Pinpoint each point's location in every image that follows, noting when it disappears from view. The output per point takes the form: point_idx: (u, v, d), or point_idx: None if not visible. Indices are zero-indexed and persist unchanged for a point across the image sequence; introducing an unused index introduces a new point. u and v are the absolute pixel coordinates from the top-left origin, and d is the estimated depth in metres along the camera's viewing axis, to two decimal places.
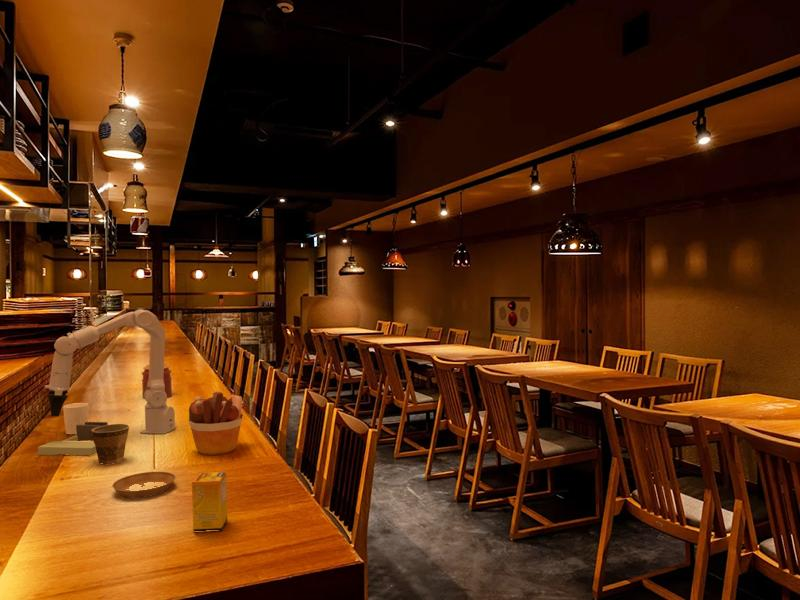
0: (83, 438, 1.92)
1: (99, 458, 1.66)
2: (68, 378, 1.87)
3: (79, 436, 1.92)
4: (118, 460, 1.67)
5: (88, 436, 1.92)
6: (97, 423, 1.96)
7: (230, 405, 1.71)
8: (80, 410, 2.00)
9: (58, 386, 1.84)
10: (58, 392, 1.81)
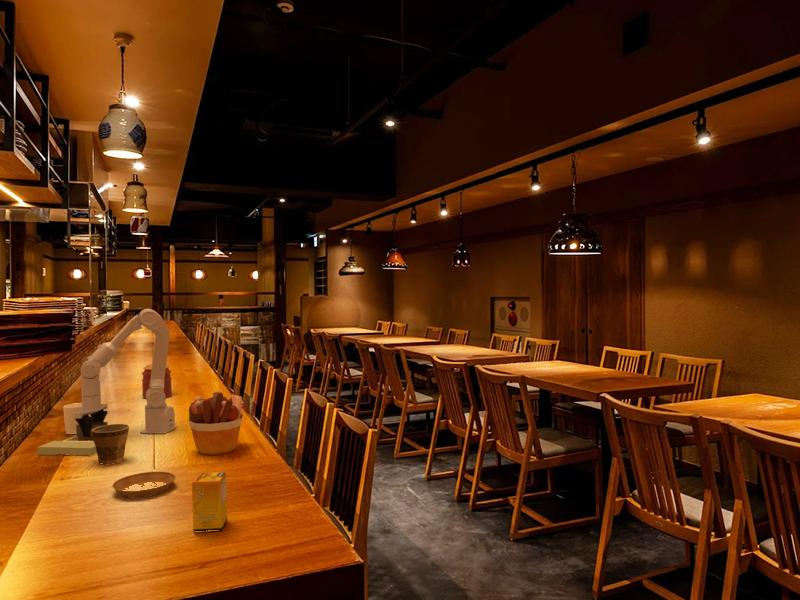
0: (83, 438, 1.92)
1: (99, 458, 1.66)
2: (94, 400, 1.92)
3: (79, 436, 1.92)
4: (118, 460, 1.67)
5: None
6: (97, 423, 1.96)
7: (230, 405, 1.71)
8: None
9: (85, 408, 1.91)
10: (77, 415, 1.87)
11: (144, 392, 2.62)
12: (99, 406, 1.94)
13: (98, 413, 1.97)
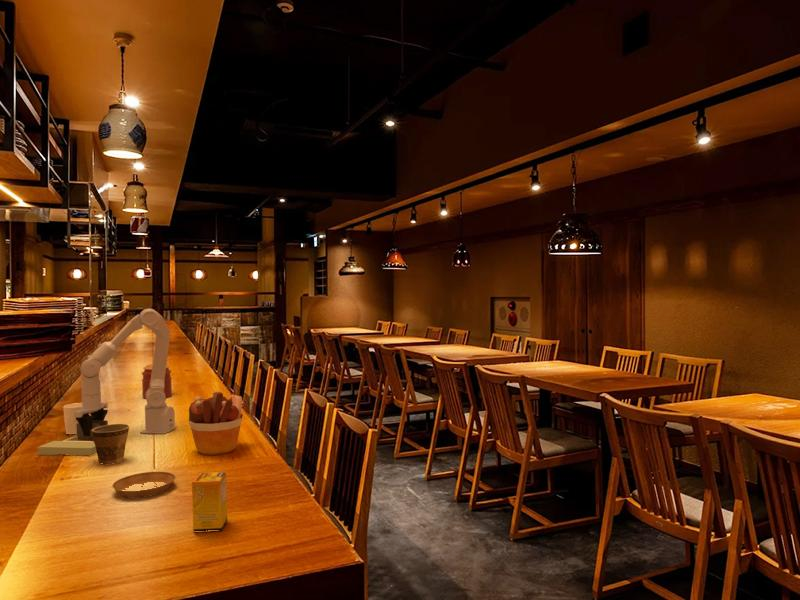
0: (83, 436, 1.92)
1: (99, 458, 1.66)
2: (94, 399, 1.92)
3: (79, 434, 1.92)
4: (118, 460, 1.67)
5: None
6: (97, 421, 1.96)
7: (230, 405, 1.71)
8: None
9: (85, 407, 1.91)
10: (77, 414, 1.87)
11: (144, 392, 2.62)
12: (99, 405, 1.94)
13: (98, 412, 1.97)
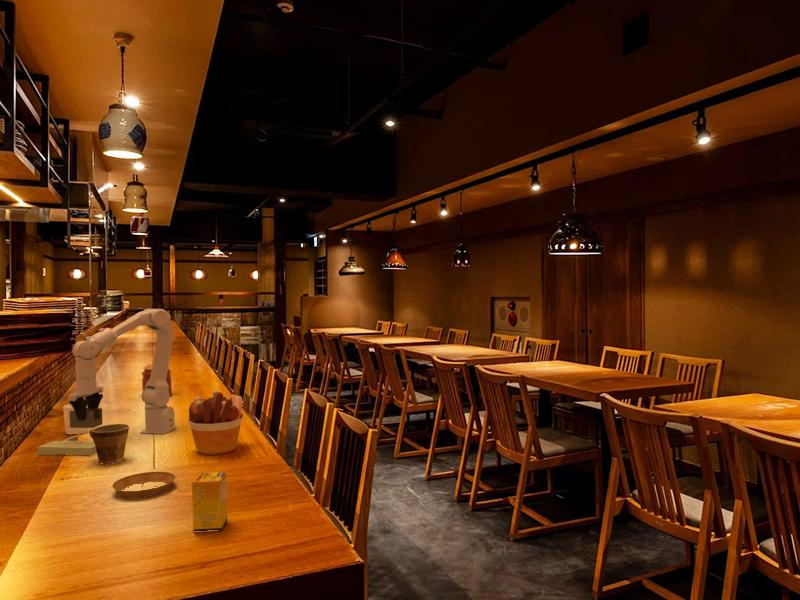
0: (76, 424, 1.84)
1: (99, 458, 1.66)
2: (89, 382, 1.84)
3: (72, 422, 1.84)
4: (118, 460, 1.67)
5: (82, 422, 1.84)
6: (91, 409, 1.88)
7: (230, 405, 1.71)
8: None
9: (79, 391, 1.83)
10: (71, 398, 1.79)
11: None
12: (94, 389, 1.86)
13: (93, 396, 1.89)
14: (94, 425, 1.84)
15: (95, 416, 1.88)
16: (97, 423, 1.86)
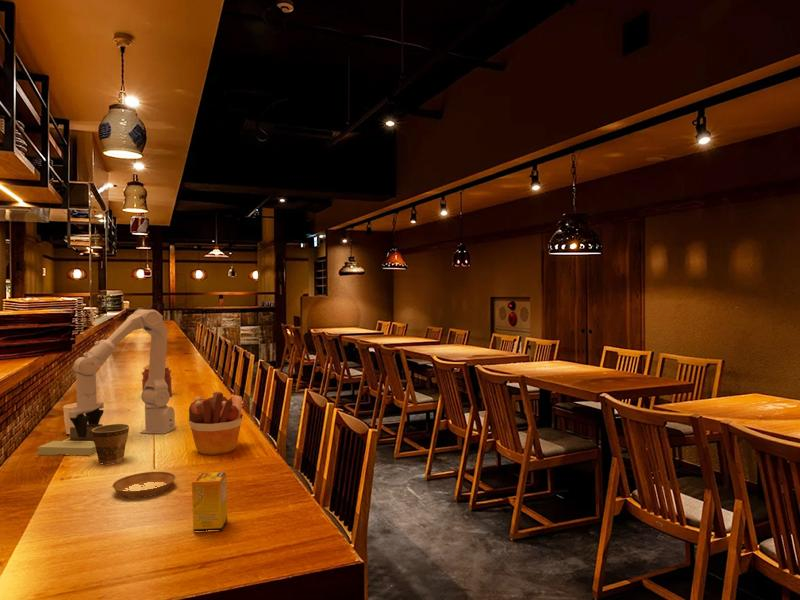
0: None
1: (99, 458, 1.66)
2: (89, 399, 1.84)
3: (73, 439, 1.84)
4: (118, 460, 1.67)
5: (82, 438, 1.84)
6: (92, 425, 1.88)
7: (230, 405, 1.71)
8: None
9: (80, 407, 1.83)
10: (71, 415, 1.79)
11: None
12: (95, 405, 1.86)
13: (94, 412, 1.88)
14: None
15: None
16: None
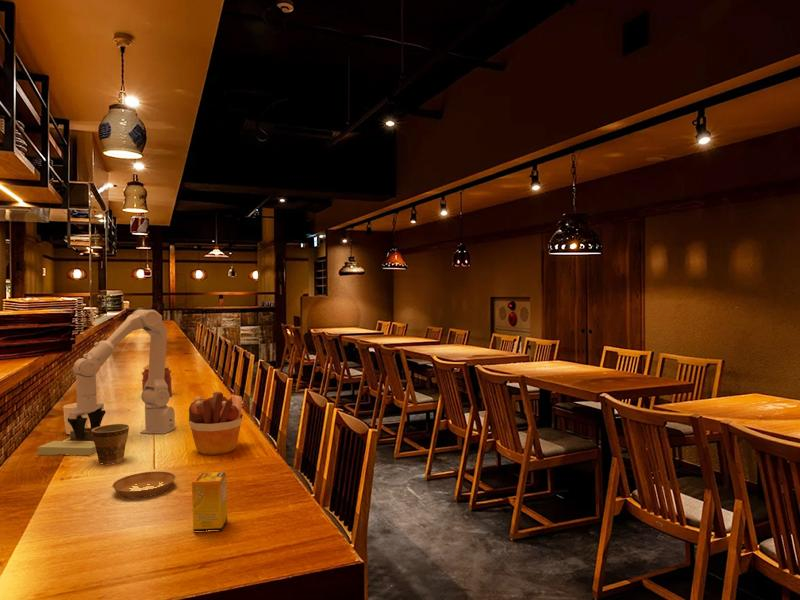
0: None
1: (99, 458, 1.66)
2: (89, 400, 1.84)
3: None
4: (118, 460, 1.67)
5: None
6: None
7: (230, 405, 1.71)
8: None
9: (80, 409, 1.83)
10: (71, 416, 1.79)
11: None
12: (95, 406, 1.86)
13: (96, 413, 1.90)
14: None
15: None
16: None
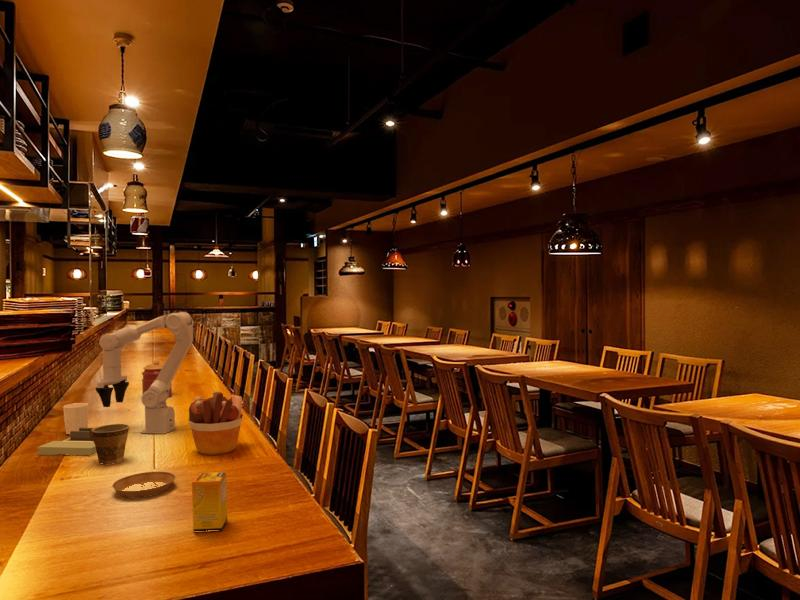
0: None
1: (99, 458, 1.66)
2: (115, 371, 2.01)
3: None
4: (118, 460, 1.67)
5: None
6: None
7: (230, 405, 1.71)
8: (79, 410, 2.00)
9: (106, 379, 2.00)
10: (99, 385, 1.96)
11: None
12: (120, 377, 2.03)
13: (120, 384, 2.06)
14: None
15: None
16: None
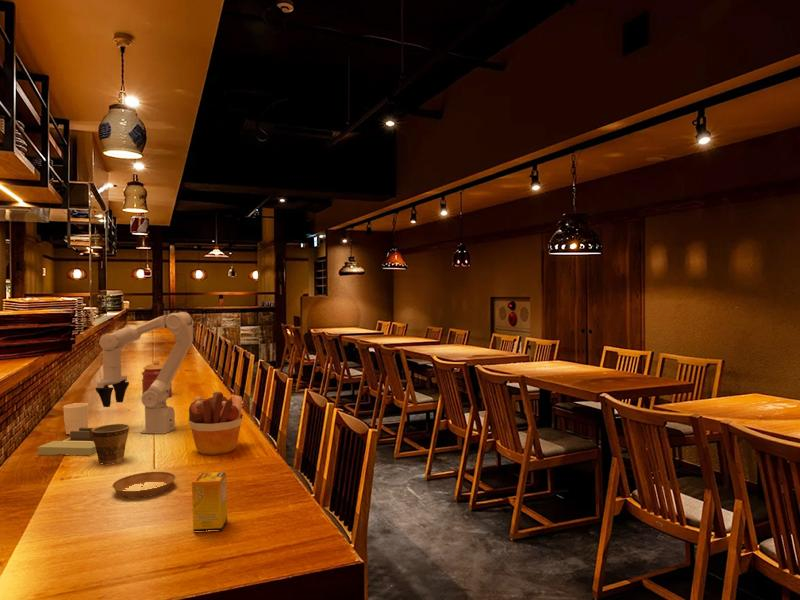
0: None
1: (99, 458, 1.66)
2: (115, 371, 2.01)
3: None
4: (118, 460, 1.67)
5: None
6: None
7: (230, 405, 1.71)
8: (79, 410, 2.00)
9: (106, 379, 2.00)
10: (99, 385, 1.96)
11: None
12: (120, 377, 2.03)
13: (120, 384, 2.06)
14: None
15: None
16: None
